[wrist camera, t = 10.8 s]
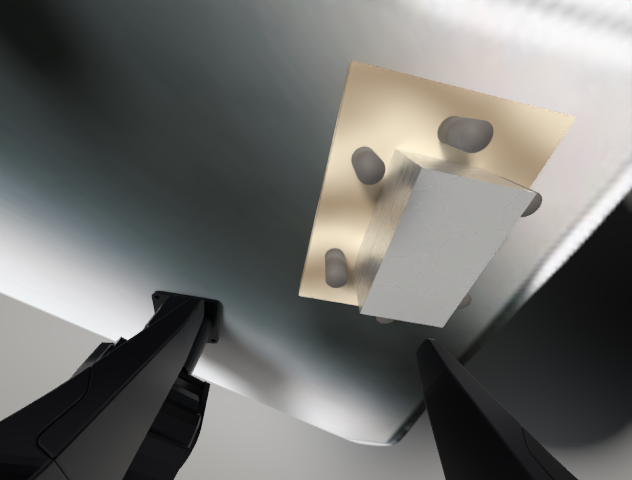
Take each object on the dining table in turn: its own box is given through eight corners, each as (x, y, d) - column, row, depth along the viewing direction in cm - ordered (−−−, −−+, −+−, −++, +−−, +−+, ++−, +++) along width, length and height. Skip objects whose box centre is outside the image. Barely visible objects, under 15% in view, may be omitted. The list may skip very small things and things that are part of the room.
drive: (418, 280, 21) (442, 327, 17) (352, 268, 21) (359, 313, 17) (480, 167, 16) (536, 193, 12) (395, 148, 16) (422, 167, 12)
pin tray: (434, 308, 25) (454, 347, 21) (299, 284, 24) (295, 321, 20) (556, 115, 16) (631, 121, 12) (349, 63, 15) (358, 51, 11)
